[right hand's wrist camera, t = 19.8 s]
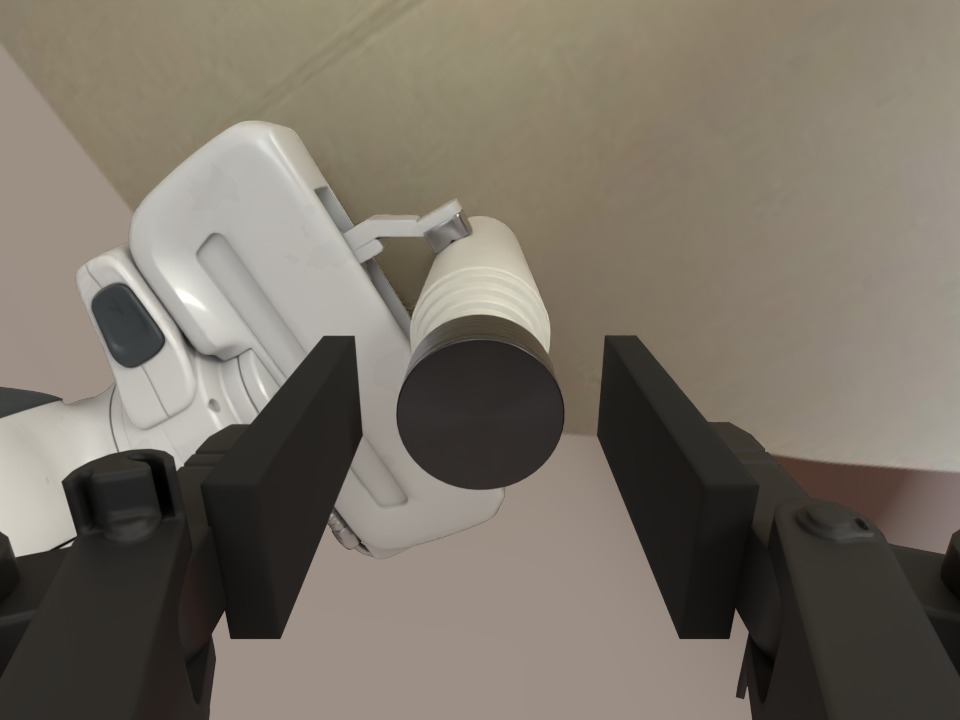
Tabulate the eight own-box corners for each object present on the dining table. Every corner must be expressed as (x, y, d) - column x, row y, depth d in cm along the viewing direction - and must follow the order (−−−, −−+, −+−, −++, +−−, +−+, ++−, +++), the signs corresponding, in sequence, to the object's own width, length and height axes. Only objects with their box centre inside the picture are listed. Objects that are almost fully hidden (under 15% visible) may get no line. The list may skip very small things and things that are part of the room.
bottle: (449, 305, 32) (410, 504, 14) (430, 225, 30) (360, 335, 13) (528, 289, 31) (589, 471, 14) (512, 207, 30) (560, 294, 12)
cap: (455, 284, 14) (451, 305, 12) (583, 363, 14) (598, 394, 12) (379, 406, 15) (365, 442, 13) (502, 473, 15) (504, 516, 14)
